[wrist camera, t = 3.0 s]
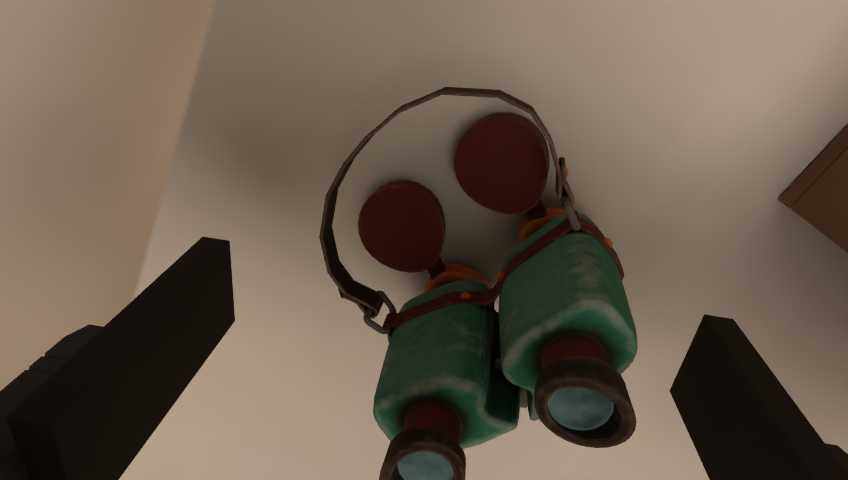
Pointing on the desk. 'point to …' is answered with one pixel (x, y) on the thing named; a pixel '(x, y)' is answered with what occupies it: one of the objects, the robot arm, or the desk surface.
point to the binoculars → (492, 307)
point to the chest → (824, 192)
